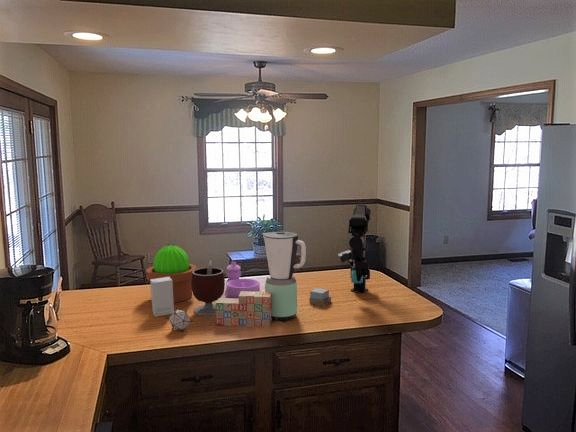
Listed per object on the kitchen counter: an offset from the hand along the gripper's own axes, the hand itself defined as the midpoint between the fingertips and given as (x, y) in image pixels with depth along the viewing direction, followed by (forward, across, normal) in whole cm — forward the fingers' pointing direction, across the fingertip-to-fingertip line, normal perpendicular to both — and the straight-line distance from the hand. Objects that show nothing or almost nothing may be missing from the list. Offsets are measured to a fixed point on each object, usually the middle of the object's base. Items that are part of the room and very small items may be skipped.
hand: (356, 279), depth 218 cm
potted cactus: (+10, -14, -83) cm, 85 cm away
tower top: (+8, 0, -17) cm, 18 cm away
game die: (+11, +27, -74) cm, 80 cm away
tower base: (+11, 0, -16) cm, 20 cm away
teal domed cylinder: (+1, 0, 0) cm, 1 cm away
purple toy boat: (+11, -17, -52) cm, 56 cm away
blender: (+11, +16, -34) cm, 39 cm away
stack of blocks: (+11, +22, -50) cm, 56 cm away
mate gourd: (+11, +5, -65) cm, 66 cm away
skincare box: (+11, +8, -84) cm, 85 cm away
